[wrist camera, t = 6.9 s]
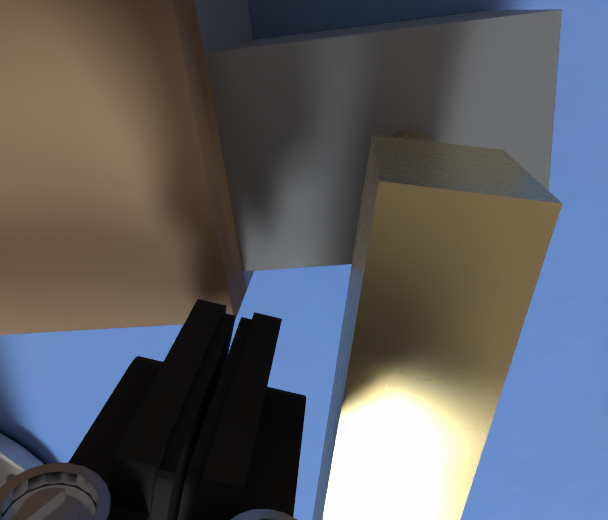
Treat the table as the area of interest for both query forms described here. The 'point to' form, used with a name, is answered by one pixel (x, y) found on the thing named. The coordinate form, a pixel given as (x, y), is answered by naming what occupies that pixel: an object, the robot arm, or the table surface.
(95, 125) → the walnut lid
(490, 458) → the table surface
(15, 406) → the table surface
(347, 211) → the grey l-shaped block
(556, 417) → the table surface
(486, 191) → the brass bar
